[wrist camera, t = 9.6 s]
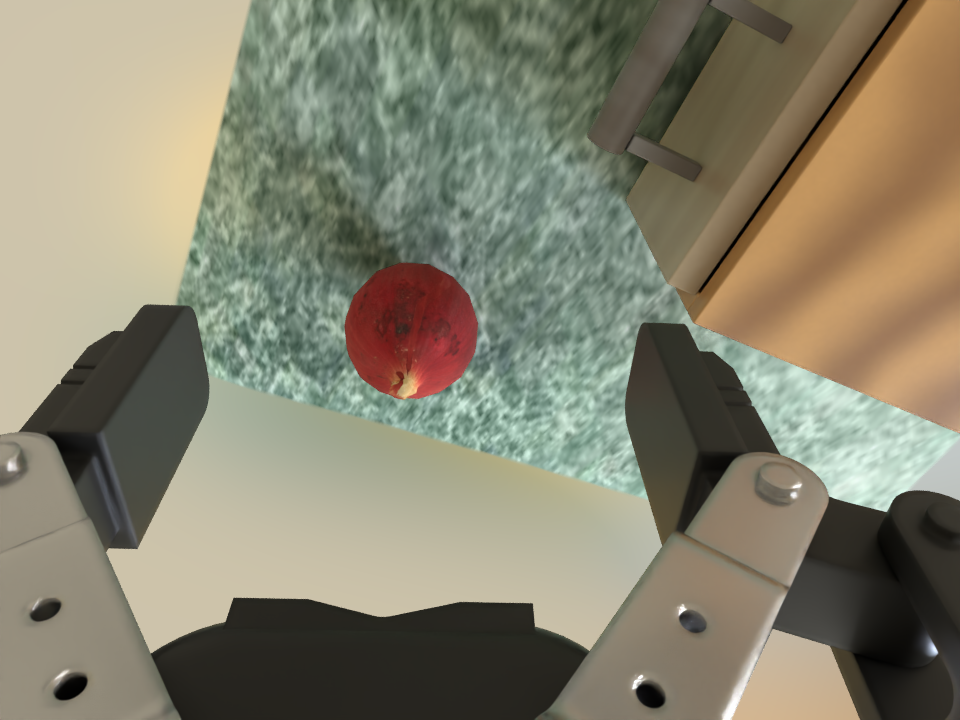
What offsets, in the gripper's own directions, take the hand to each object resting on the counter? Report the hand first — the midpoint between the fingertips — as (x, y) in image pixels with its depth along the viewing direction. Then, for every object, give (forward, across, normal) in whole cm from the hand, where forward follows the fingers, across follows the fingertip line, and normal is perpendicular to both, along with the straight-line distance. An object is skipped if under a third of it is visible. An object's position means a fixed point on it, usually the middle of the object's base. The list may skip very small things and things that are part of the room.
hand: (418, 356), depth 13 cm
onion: (+20, +1, +9) cm, 22 cm away
